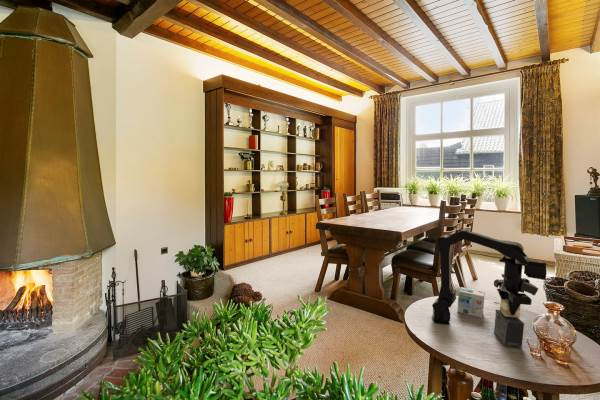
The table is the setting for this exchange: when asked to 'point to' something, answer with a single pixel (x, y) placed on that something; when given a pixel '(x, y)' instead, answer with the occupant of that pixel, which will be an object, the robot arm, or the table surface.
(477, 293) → the light bulb box
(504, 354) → the table surface
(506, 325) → the small box
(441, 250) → the robot arm
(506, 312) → the birch cube
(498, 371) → the table surface
